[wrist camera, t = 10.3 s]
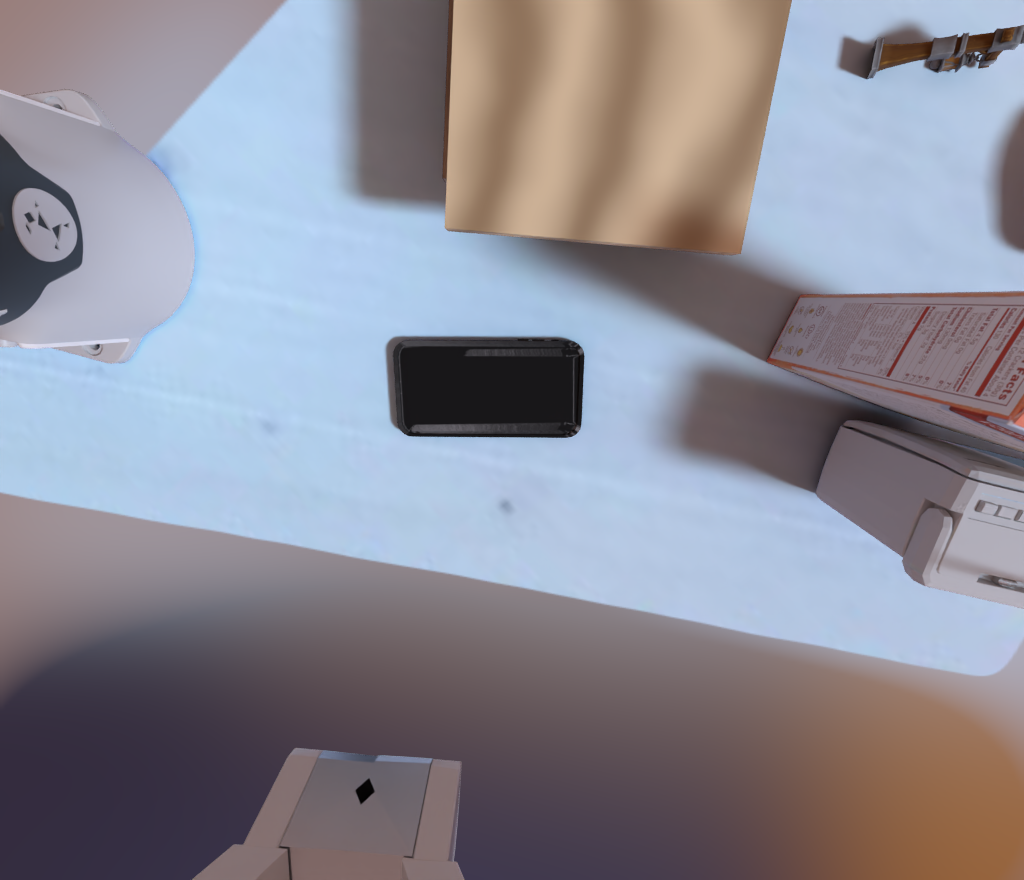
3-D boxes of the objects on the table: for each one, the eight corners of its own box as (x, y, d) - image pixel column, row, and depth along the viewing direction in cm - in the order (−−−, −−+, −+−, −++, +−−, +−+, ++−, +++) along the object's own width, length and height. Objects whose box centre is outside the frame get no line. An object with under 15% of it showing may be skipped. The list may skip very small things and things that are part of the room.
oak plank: (448, 231, 32) (444, 228, 30) (458, -20, 28) (455, -37, 26) (730, 255, 32) (740, 253, 30) (779, 9, 28) (793, -6, 26)
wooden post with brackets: (1001, 76, 33) (1035, 46, 29) (859, 93, 36) (872, 68, 32) (1010, 44, 33) (1045, 9, 29) (864, 64, 36) (878, 35, 32)
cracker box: (958, 351, 39) (1418, 414, 19) (914, 421, 41) (1295, 547, 21) (799, 286, 38) (1112, 282, 18) (761, 361, 40) (1008, 433, 20)
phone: (580, 437, 41) (398, 436, 41) (579, 434, 42) (401, 432, 42) (585, 340, 39) (392, 339, 39) (583, 338, 40) (395, 338, 40)
